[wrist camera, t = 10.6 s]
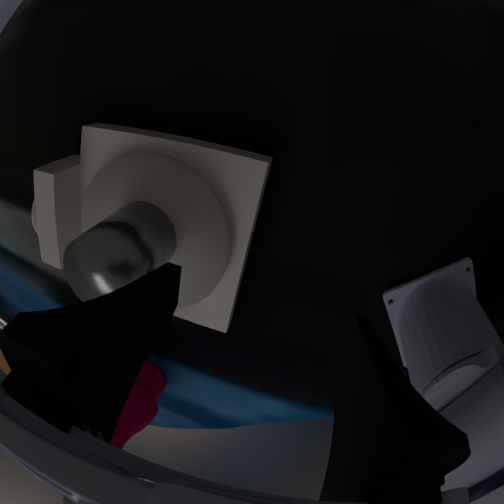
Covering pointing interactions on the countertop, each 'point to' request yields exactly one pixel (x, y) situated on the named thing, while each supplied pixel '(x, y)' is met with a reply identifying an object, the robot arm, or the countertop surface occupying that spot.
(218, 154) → the scale
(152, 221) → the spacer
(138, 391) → the pepper mill
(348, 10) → the countertop surface
